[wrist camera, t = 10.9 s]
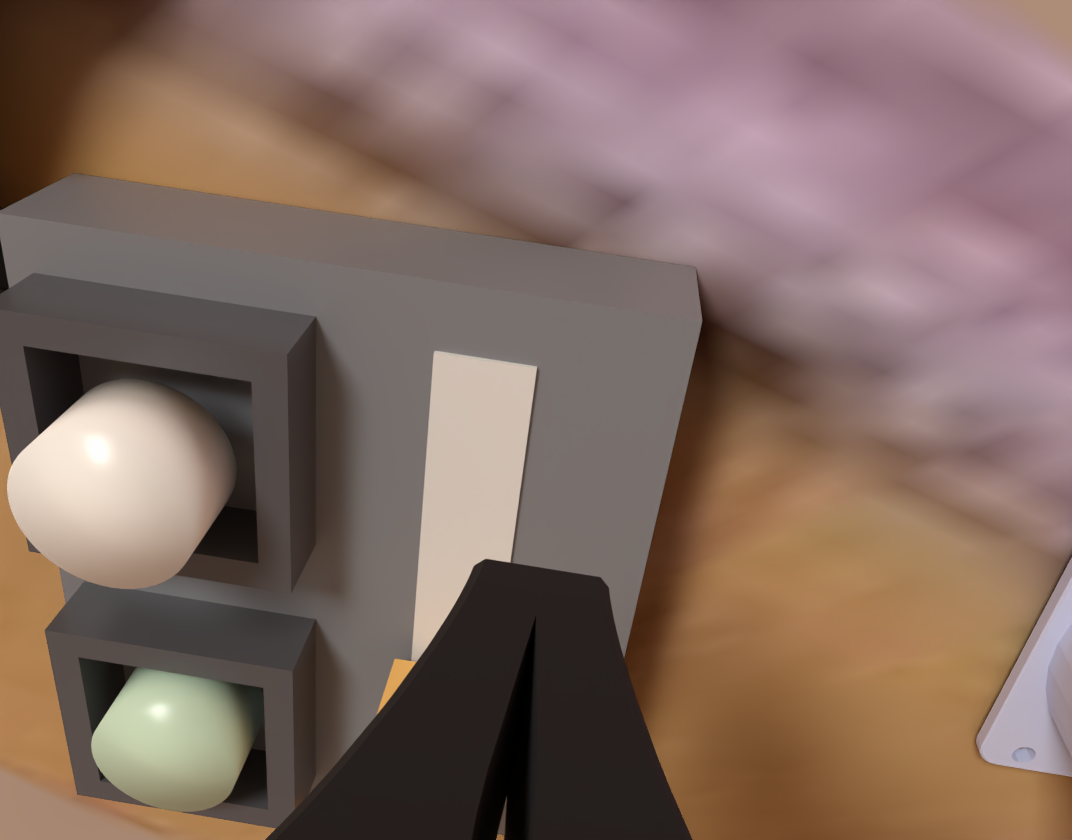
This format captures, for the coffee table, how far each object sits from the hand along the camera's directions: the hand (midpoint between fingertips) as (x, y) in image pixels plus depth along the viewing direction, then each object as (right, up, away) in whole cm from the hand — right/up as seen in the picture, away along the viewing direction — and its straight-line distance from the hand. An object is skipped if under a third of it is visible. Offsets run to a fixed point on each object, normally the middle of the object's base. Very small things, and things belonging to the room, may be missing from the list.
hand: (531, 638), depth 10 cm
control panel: (-4, 0, +11) cm, 12 cm away
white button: (-7, +2, +6) cm, 9 cm away
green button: (-7, -4, +11) cm, 13 cm away
